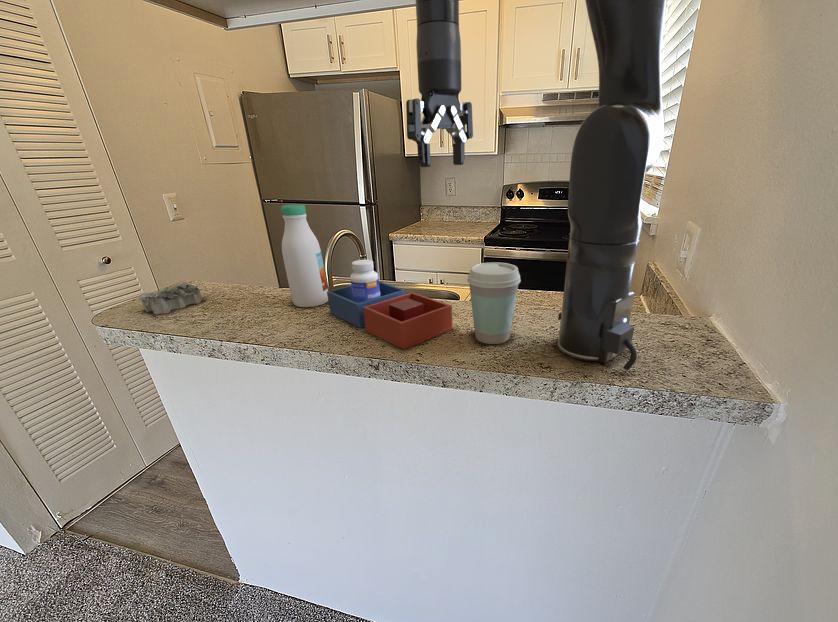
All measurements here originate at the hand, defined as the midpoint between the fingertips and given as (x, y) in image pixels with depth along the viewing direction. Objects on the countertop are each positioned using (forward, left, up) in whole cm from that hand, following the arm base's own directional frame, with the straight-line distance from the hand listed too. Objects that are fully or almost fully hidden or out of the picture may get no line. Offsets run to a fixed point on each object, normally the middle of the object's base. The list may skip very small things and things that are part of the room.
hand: (442, 165), depth 76 cm
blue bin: (+5, +17, -26) cm, 32 cm away
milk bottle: (+20, +22, -26) cm, 40 cm away
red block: (-8, +17, -26) cm, 32 cm away
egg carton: (+41, +44, -26) cm, 66 cm away
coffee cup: (-21, +9, -26) cm, 35 cm away
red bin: (-8, +17, -26) cm, 32 cm away
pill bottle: (+5, +17, -26) cm, 31 cm away
